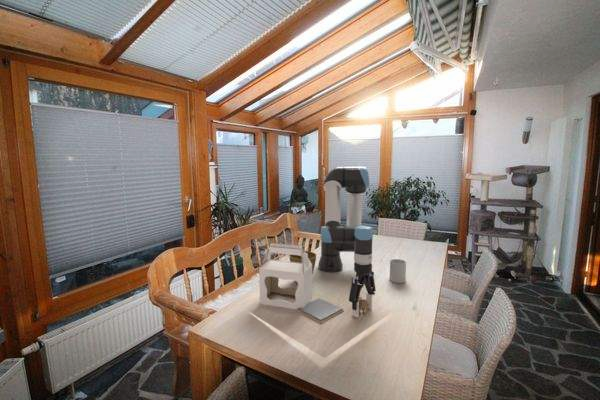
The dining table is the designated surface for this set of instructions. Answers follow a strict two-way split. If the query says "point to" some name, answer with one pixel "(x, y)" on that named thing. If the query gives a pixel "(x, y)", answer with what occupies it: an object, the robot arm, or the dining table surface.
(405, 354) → the dining table surface
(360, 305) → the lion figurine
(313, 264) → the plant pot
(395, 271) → the mug
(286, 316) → the dining table surface
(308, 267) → the gable box
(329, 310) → the pad
